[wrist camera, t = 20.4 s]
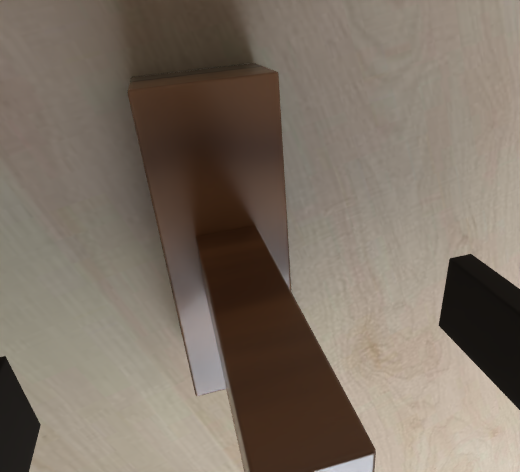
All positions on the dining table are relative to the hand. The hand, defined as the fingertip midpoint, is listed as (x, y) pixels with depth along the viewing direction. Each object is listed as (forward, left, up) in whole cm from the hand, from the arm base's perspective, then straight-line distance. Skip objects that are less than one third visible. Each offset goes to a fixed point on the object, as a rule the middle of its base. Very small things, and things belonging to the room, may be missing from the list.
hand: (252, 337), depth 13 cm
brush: (0, 0, -8) cm, 8 cm away
